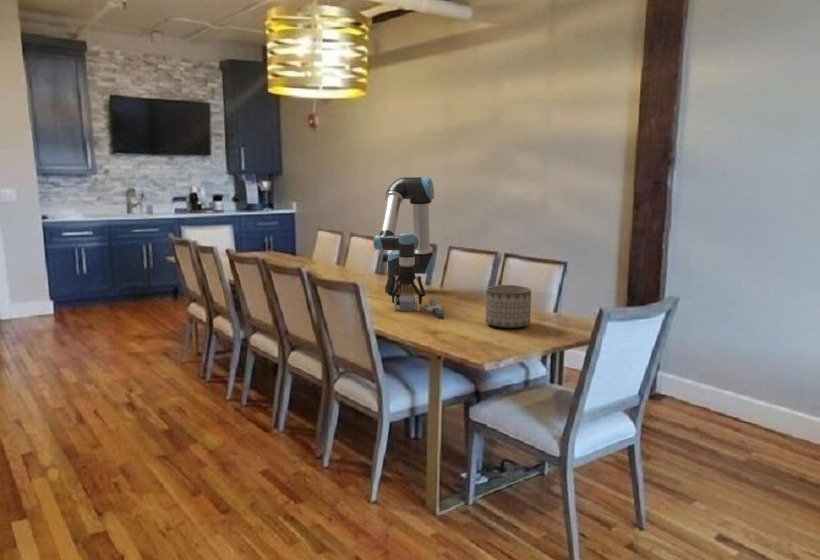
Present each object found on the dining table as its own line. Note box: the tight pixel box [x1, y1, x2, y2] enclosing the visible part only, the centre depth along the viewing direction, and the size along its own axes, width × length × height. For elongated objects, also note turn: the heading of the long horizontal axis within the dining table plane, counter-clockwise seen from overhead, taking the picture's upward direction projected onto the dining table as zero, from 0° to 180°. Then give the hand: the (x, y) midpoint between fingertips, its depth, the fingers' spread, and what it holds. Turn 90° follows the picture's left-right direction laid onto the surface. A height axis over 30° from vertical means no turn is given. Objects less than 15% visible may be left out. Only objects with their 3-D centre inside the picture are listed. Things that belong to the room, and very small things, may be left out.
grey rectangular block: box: [399, 292, 415, 313], centre depth 302 cm, size 6×6×8 cm
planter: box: [485, 284, 532, 329], centre depth 271 cm, size 19×19×16 cm
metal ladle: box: [424, 298, 445, 320], centre depth 294 cm, size 20×8×6 cm, turn 11°
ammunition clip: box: [394, 281, 416, 306], centre depth 317 cm, size 11×2×12 cm, turn 104°
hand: (406, 309), depth 302 cm, fingers open, 11 cm apart
